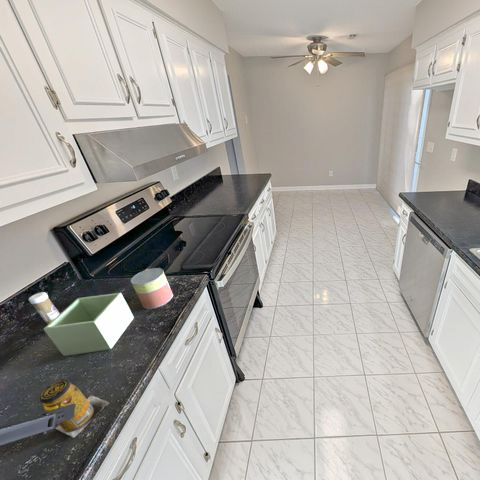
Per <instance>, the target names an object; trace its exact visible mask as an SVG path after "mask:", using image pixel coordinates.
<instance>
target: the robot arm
mask: <svg viewBox="0 0 480 480" xmlns="http://www.w3.org/2000/svg"><path fill="white" fill-rule="evenodd" d="M75 405H76V403H75V404H71V405H68V406H65V407H62V408H59V409H56V410H53V411H50V412H47V411H46V412H44V413H42V414H41V415H38V416H33V417H30V418H26V419H22V420H17V421H15V422H10V423H7V420H8V414H2V415H0V446H4V445H7V444H10V443H14V442H16V441H19V440H22V439H25V438H28V437H32V436H35V435H39V434H41V433H42V435H46V434H48V431H53V430H54V429H55V428H56V427H57V426H58V425H59V423H62V422H64V421H67V420H69V419H72V418H74V412H75Z"/></svg>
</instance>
